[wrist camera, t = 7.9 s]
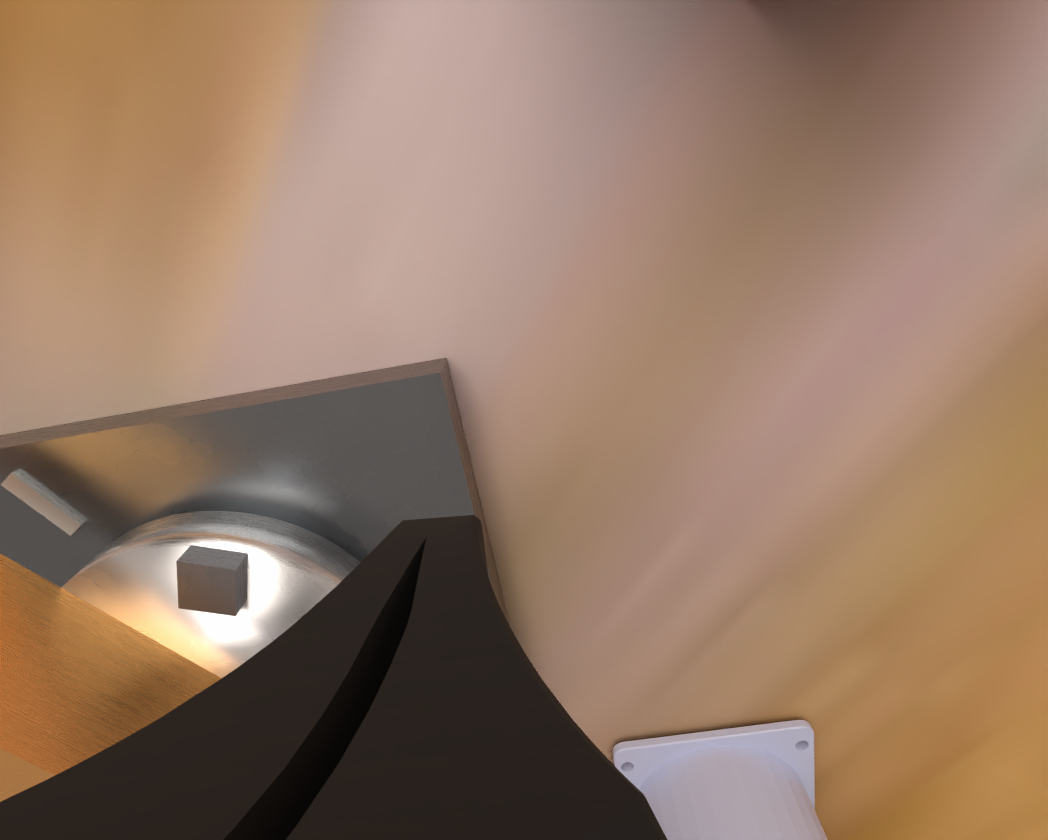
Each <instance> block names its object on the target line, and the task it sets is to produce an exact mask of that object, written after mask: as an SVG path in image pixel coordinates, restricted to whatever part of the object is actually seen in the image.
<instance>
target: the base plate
mask: <svg viewBox="0 0 1048 840" xmlns="http://www.w3.org/2000/svg"><path fill="white" fill-rule="evenodd" d="M196 511H233V512H243V513H251V514H256V515H261V516H266V517H270V518H275V519H278V520H281V521H284V522H287V523H290V524H293V525H297V526H299V527H301V528H304V529H306V530H308V531H311V532H313V533H315V534H317V535H320V536H322V537H323V538H325V539H327V540H329V541H330V542H332V543H334V544H336V545H337V546H339V547H341V548H342V549H344V550H345V551H347V552H348V553H349V554H351V555H352V556H353V557H355V558H356V559H357V560H359V561H360V562H362V561H363V560H364V559H365V558H366V557H367V556H368V555H369V554H370V553H371V552H372V551H373V550H374V549H375V548H376V547H377V545H378V544H379V543H380V542H381V541H382V540H383V539H384V538H385V537H386V536H387V535H388V534H389V533H390V532H391V531H392V530H393V529H394V528H395V527H396V526H397V525H398V524H399V523H401V522H402V521H403V520H414V519H427V518H440V517H453V516H466V515H475V516H476V517H477V518H478V519H480V520H481V525H482V532H483V540H484V547H485V554H486V562H487V569H488V576H489V580H490V583H491V586H492V588H493V591H494V593H495V596H496V598H497V601H498V603H499V605H500V607H501V609H502V611H503V614H504V616H505V618H506V620H507V622H508V624H509V621H508V617H507V613H506V609H505V604H504V600H503V596H502V592H501V587H500V583H499V579H498V575H497V570H496V566H495V562H494V558H493V553H492V549H491V545H490V541H489V537H488V532H487V528H486V524H485V520H484V515H483V511H482V507H481V503H480V498H479V494H478V490H477V486H476V481H475V477H474V473H473V469H472V464H471V460H470V456H469V452H468V447H467V443H466V439H465V435H464V430H463V426H462V422H461V418H460V413H459V409H458V405H457V401H456V396H455V392H454V388H453V384H452V380H451V375H450V371H449V367H448V363H447V358H443V359H438V360H432V361H426V362H420V363H415V364H409V365H403V366H397V367H392V368H386V369H380V370H374V371H369V372H363V373H357V374H351V375H346V376H340V377H334V378H328V379H323V380H317V381H311V382H305V383H300V384H294V385H288V386H282V387H277V388H271V389H265V390H260V391H254V392H248V393H242V394H237V395H231V396H225V397H219V398H214V399H208V400H202V401H196V402H191V403H185V404H179V405H173V406H168V407H162V408H156V409H150V410H145V411H139V412H133V413H127V414H122V415H116V416H110V417H104V418H99V419H93V420H87V421H81V422H76V423H70V424H64V425H58V426H53V427H47V428H41V429H35V430H30V431H24V432H18V433H12V434H7V435H1V436H0V554H2V555H4V556H6V557H7V558H9V559H11V560H13V561H14V562H16V563H18V564H20V565H22V566H23V567H25V568H27V569H29V570H30V571H32V572H34V573H36V574H37V575H39V576H41V577H43V578H45V579H46V580H48V581H50V582H52V583H53V584H55V585H57V586H59V587H62V586H63V585H64V584H66V583H67V582H68V581H69V580H70V579H71V578H72V577H73V576H74V575H76V574H77V573H78V572H79V571H80V570H81V569H82V568H83V567H84V566H86V565H87V564H88V563H89V562H90V561H91V560H92V559H93V558H94V557H95V556H97V555H98V554H99V553H100V552H101V551H102V550H103V549H105V548H106V547H107V546H108V545H109V544H110V543H112V542H113V541H114V540H115V539H117V538H118V537H120V536H122V535H123V534H125V533H127V532H128V531H130V530H132V529H133V528H136V527H138V526H141V525H143V524H145V523H148V522H150V521H152V520H156V519H160V518H163V517H167V516H171V515H174V514H181V513H188V512H196Z"/></svg>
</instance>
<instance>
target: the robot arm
mask: <svg viewBox="0 0 1048 840" xmlns="http://www.w3.org/2000/svg"><path fill="white" fill-rule="evenodd" d="M613 759H614V765H615V766H614V765H613V764H612V763H611V762H610V761H609V760H608V759H607V758H606V756H605V755H604V754H603V753H602V752H601V751H600V750H599V749H598V748H597V747H596V746H595V745H594V744H593V742H592V741H591V740H590V739H589V738H588V737H587V736H586V735H585V733H584V732H583V731H582V730H581V729H580V728H579V727H578V725H577V724H576V723H575V722H574V721H573V720H572V718H571V717H570V716H569V714H568V713H567V712H566V710H565V709H564V708H563V707H562V705H561V704H560V703H559V701H558V700H557V699H556V697H555V696H554V695H553V693H552V692H551V691H550V689H549V688H548V687H547V686H546V684H545V683H544V682H543V680H542V679H541V677H540V676H539V674H538V673H537V671H536V670H535V668H534V667H533V665H532V664H531V662H530V661H529V659H528V657H527V656H526V654H525V653H524V651H523V649H522V647H521V646H520V644H519V642H518V641H517V639H516V637H515V635H514V633H513V632H512V630H511V628H510V626H509V624H508V622H507V620H506V618H505V616H504V614H503V611H502V609H501V607H500V605H499V603H498V601H497V598H496V596H495V593H494V591H493V588H492V586H491V583H490V580H489V576H488V569H487V562H486V554H485V547H484V540H483V532H482V525H481V520H480V519H478V518H477V517H476V516H475V515H466V516H453V517H440V518H427V519H414V520H403V521H402V522H401V523H399V524H398V525H397V526H396V527H395V528H394V529H393V530H392V531H391V532H390V533H389V534H388V535H387V536H386V537H385V538H384V539H383V540H382V541H381V542H380V543H379V544H378V545H377V547H376V548H375V549H374V550H373V551H372V552H371V553H370V554H369V555H368V556H367V557H366V558H365V559H364V560H363V561H362V562H361V563H360V564H359V565H358V566H357V567H356V568H355V569H354V570H353V571H351V572H350V573H349V574H348V575H347V576H346V577H345V578H344V579H343V580H342V581H341V582H340V583H339V584H338V585H337V586H336V587H335V588H334V589H333V590H332V591H331V592H329V593H328V594H327V595H326V596H325V597H324V598H323V599H322V600H320V601H319V602H318V603H317V604H316V605H315V606H314V607H313V608H311V609H310V610H309V611H308V612H307V613H306V614H305V615H304V616H302V617H301V618H300V619H299V620H298V621H297V622H296V623H295V624H293V625H292V626H291V627H290V628H289V629H287V630H286V631H285V632H284V633H282V634H281V635H280V636H279V637H277V638H276V639H275V640H274V641H272V642H271V643H270V644H269V645H267V646H266V647H265V648H263V649H262V650H261V651H259V652H258V653H256V654H255V655H254V656H252V657H251V658H250V659H248V660H247V661H246V662H244V663H243V664H242V665H240V666H239V667H237V668H236V669H235V670H233V671H232V672H230V673H229V674H227V675H226V676H225V677H223V678H222V679H220V680H218V681H217V682H215V683H214V684H212V685H211V686H209V687H208V688H206V689H204V690H203V691H201V692H200V693H198V694H197V695H195V696H194V697H192V698H190V699H189V700H187V701H186V702H184V703H183V704H181V705H180V706H178V707H176V708H175V709H173V710H172V711H170V712H169V713H167V714H166V715H164V716H162V717H161V718H159V719H157V720H156V721H154V722H152V723H151V724H149V725H147V726H145V727H144V728H142V729H140V730H138V731H137V732H135V733H133V734H131V735H130V736H128V737H126V738H124V739H123V740H121V741H119V742H117V743H116V744H114V745H112V746H110V747H108V748H106V749H104V750H103V751H101V752H99V753H97V754H95V755H93V756H91V757H90V758H88V759H86V760H84V761H82V762H80V763H78V764H77V765H75V766H73V767H71V768H69V769H67V770H65V771H63V772H61V773H59V774H57V775H55V776H53V777H51V778H49V779H47V780H45V781H43V782H41V783H39V784H37V785H35V786H33V787H30V788H28V789H26V790H24V791H22V792H20V793H18V794H16V795H14V796H11V797H9V798H7V799H5V800H3V801H1V802H0V840H828V839H827V837H826V835H825V832H824V830H823V828H822V826H821V823H820V821H819V819H818V817H817V814H816V812H815V772H814V732H813V729H812V727H811V725H810V724H809V723H808V722H807V721H804V720H792V721H784V722H776V723H768V724H760V725H752V726H744V727H737V728H729V729H721V730H713V731H705V732H697V733H689V734H681V735H673V736H665V737H657V738H649V739H641V740H633V741H625V742H621V743H618V744H617V745H615V746H614V748H613ZM626 762H628V763H626Z"/></svg>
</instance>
